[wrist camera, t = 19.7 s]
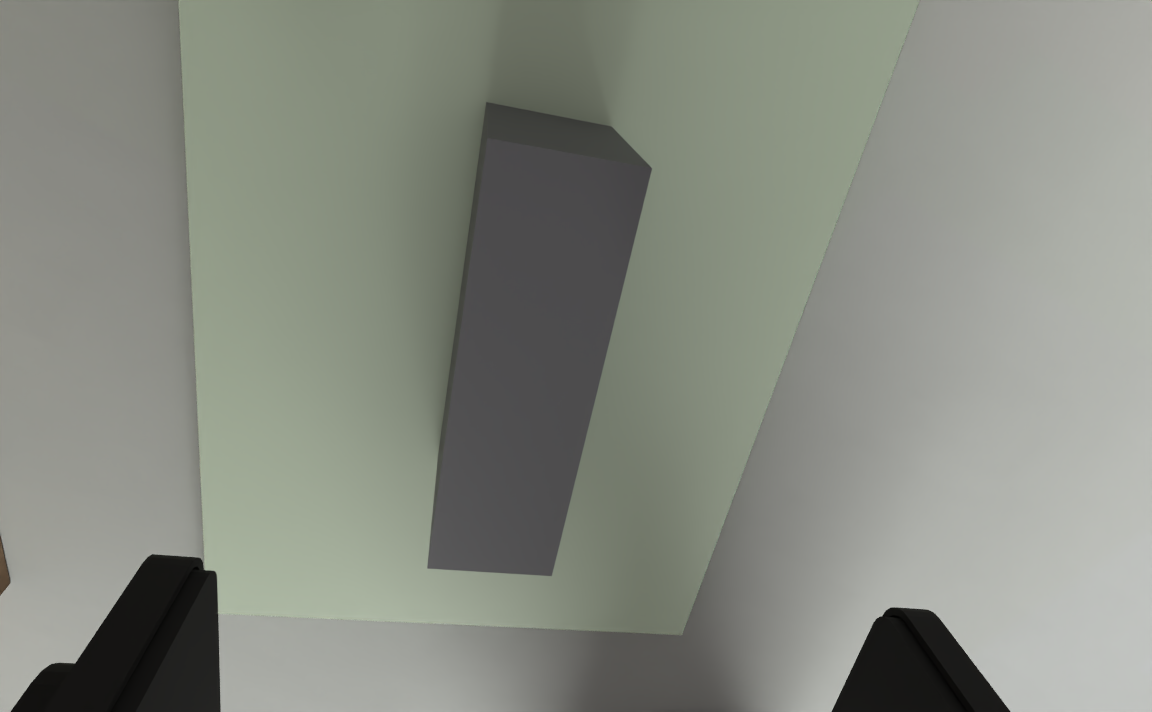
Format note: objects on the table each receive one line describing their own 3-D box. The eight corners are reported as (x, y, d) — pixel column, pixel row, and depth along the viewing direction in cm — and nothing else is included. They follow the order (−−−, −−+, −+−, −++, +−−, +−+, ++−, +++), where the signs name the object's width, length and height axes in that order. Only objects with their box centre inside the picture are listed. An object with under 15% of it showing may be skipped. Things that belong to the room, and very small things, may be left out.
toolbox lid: (671, 603, 26) (719, 755, 21) (222, 578, 23) (146, 749, 18) (933, -133, 16) (1152, -194, 11) (192, -354, 13) (-4, -589, 8)
